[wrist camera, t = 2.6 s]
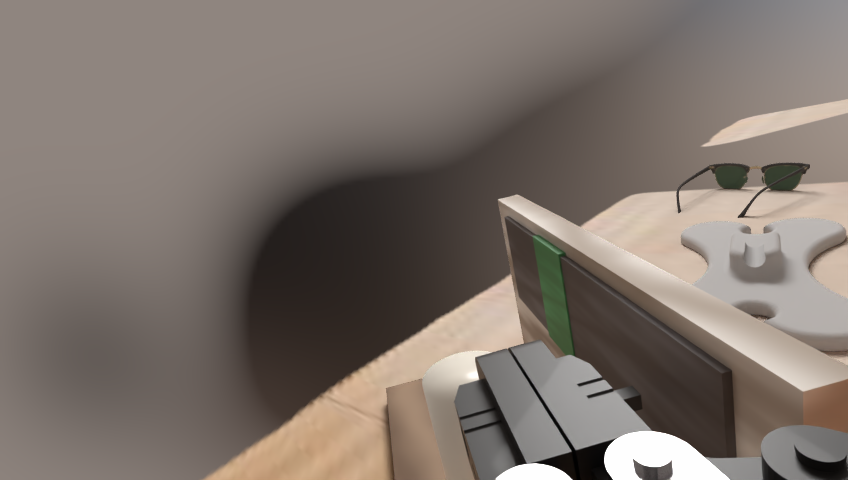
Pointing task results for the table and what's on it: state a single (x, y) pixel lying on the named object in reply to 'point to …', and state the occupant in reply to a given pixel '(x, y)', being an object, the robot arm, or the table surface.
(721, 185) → the sunglasses
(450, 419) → the white cylinder on base
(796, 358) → the base
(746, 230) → the holder
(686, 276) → the table surface
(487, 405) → the robot arm
